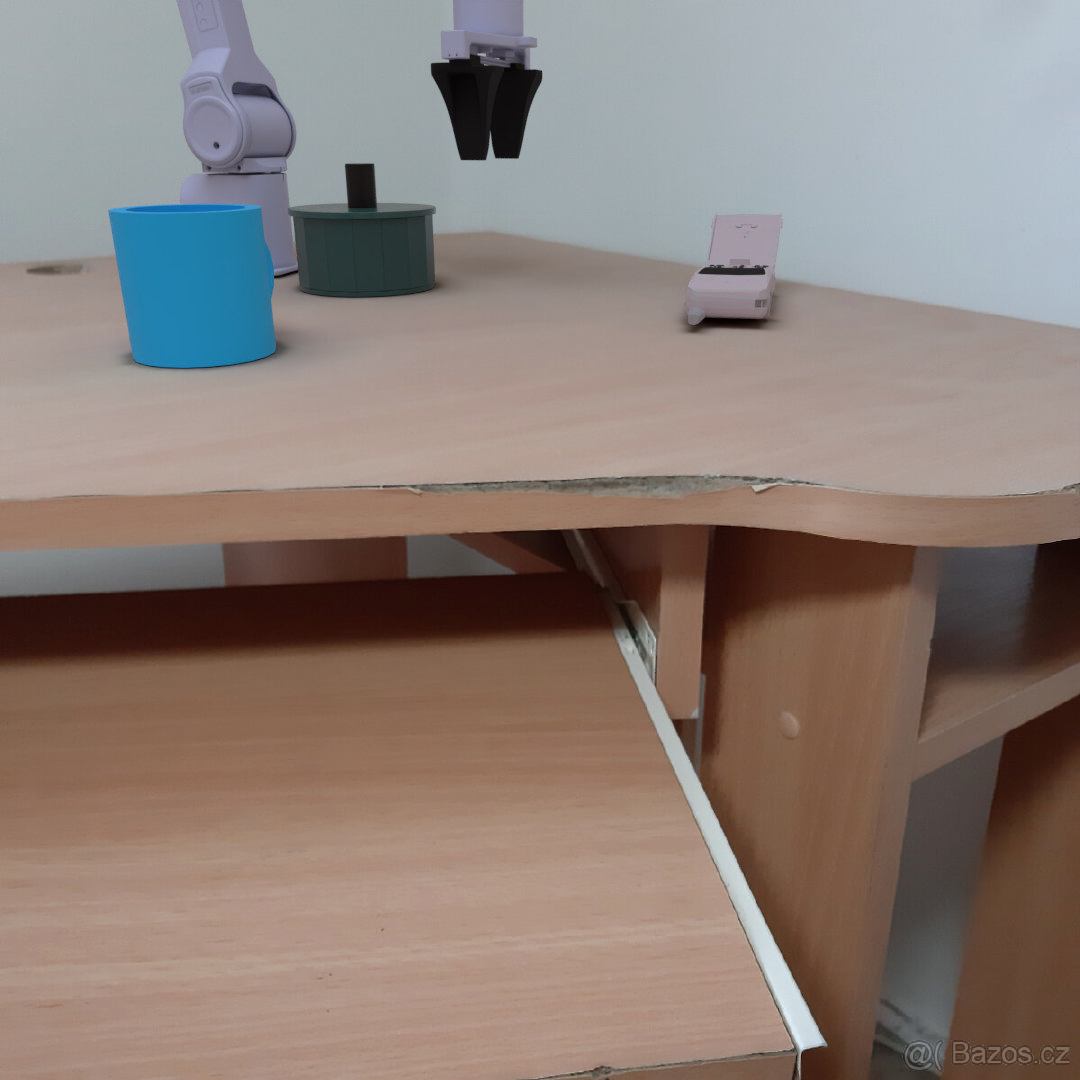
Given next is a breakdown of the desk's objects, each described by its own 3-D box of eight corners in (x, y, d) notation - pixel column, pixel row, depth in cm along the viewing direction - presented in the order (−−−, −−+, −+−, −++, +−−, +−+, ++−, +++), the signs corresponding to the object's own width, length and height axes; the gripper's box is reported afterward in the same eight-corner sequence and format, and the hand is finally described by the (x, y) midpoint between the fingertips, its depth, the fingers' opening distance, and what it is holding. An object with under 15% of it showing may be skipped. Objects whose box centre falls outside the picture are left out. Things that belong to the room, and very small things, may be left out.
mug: (227, 371, 52) (207, 214, 49) (101, 362, 54) (74, 211, 51) (330, 332, 63) (319, 201, 60) (221, 326, 65) (205, 199, 62)
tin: (277, 295, 78) (269, 217, 76) (330, 276, 88) (324, 208, 86) (411, 298, 76) (407, 219, 74) (449, 279, 87) (446, 209, 84)
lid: (263, 226, 76) (257, 165, 74) (322, 214, 87) (318, 161, 85) (411, 228, 74) (408, 165, 72) (452, 216, 85) (450, 162, 83)
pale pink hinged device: (784, 213, 82) (776, 238, 59) (778, 283, 84) (769, 333, 62) (713, 213, 83) (679, 237, 61) (709, 282, 85) (675, 330, 63)
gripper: (500, -41, 69) (503, 161, 74) (563, -13, 82) (561, 158, 87) (412, -35, 71) (421, 160, 77) (487, -9, 84) (489, 157, 89)
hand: (490, 159), depth 82 cm, fingers open, 7 cm apart
